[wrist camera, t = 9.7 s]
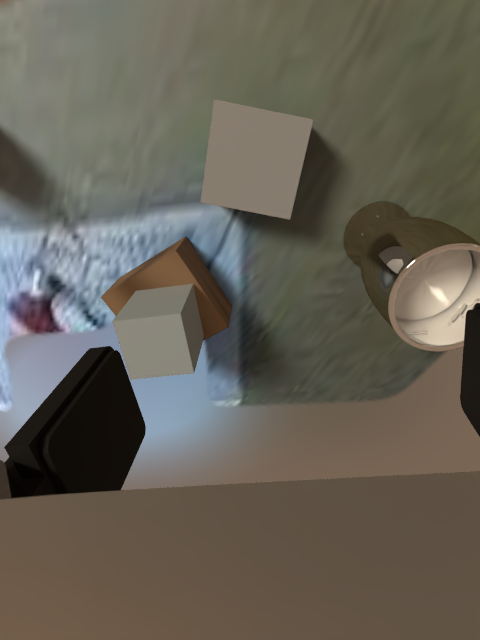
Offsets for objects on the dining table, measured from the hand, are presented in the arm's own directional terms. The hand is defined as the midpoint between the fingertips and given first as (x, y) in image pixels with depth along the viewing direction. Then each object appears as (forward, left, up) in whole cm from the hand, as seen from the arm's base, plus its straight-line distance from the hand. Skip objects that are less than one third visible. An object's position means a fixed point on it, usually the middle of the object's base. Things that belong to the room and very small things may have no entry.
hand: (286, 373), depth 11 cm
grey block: (+1, -4, -27) cm, 27 cm away
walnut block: (+10, +7, -27) cm, 30 cm away
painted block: (+9, +7, -22) cm, 25 cm away
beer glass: (-9, +4, -27) cm, 29 cm away
